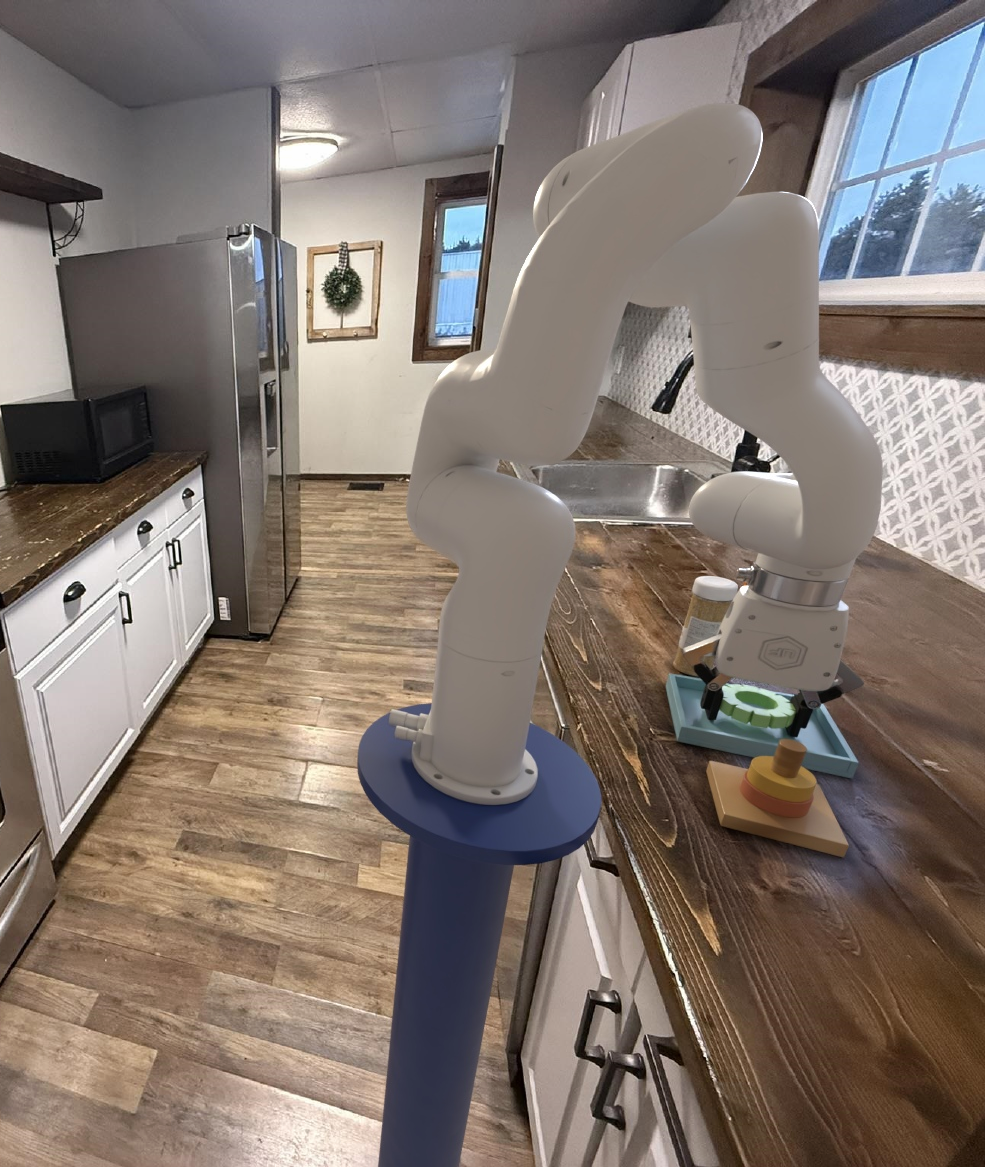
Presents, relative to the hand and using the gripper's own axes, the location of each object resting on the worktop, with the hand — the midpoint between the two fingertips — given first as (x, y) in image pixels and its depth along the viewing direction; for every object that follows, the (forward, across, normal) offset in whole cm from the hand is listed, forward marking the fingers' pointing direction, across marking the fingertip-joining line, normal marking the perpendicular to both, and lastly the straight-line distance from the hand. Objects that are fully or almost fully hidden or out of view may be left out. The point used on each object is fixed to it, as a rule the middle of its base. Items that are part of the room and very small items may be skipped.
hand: (748, 721), depth 74 cm
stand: (+1, -1, -16) cm, 16 cm away
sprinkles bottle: (+1, -4, +13) cm, 14 cm away
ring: (-1, 0, 0) cm, 1 cm away
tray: (+1, 0, 0) cm, 1 cm away
